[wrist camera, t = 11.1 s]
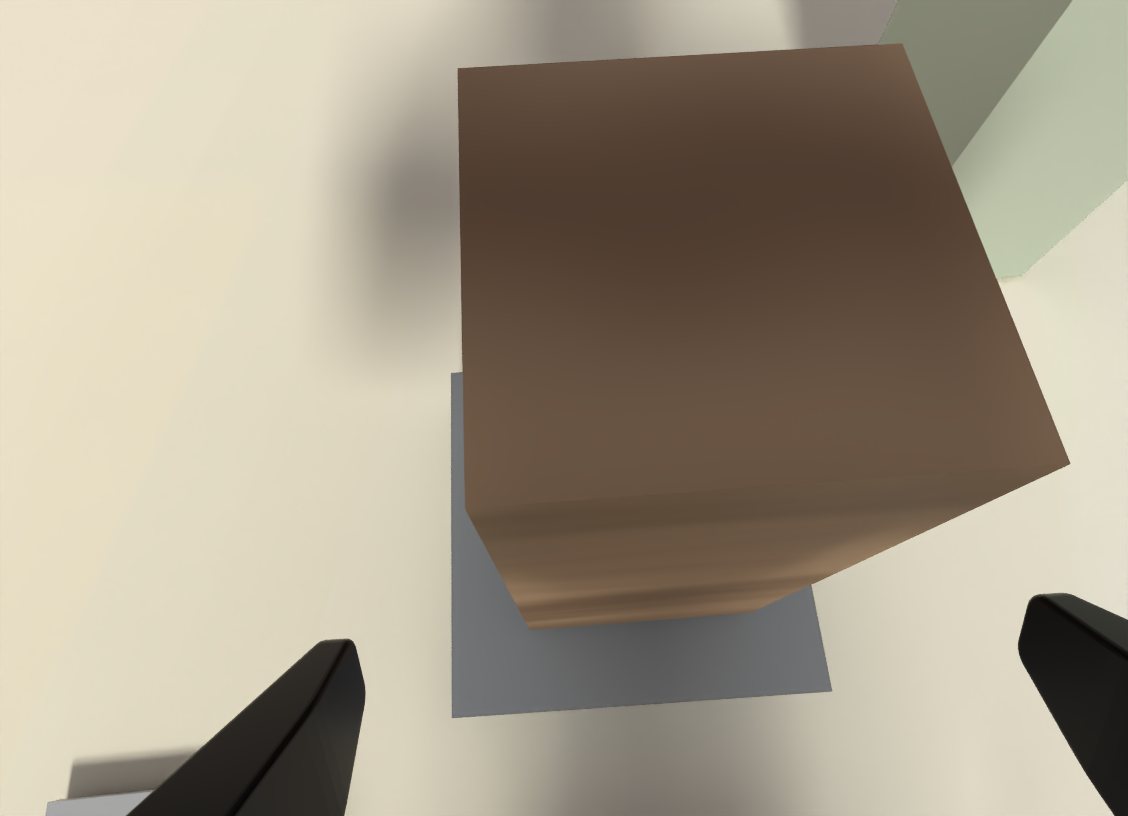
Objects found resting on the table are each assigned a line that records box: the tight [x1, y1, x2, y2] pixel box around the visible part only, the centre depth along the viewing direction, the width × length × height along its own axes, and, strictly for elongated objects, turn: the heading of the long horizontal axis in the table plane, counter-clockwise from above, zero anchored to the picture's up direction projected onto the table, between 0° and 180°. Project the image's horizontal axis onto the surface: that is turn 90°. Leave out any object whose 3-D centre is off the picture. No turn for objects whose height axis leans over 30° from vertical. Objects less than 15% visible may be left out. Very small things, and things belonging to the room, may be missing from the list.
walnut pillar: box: [458, 43, 1070, 630], centre depth 13 cm, size 6×6×12 cm
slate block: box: [451, 372, 832, 718], centre depth 21 cm, size 10×10×3 cm
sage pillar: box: [878, 0, 1128, 279], centre depth 20 cm, size 6×6×12 cm
